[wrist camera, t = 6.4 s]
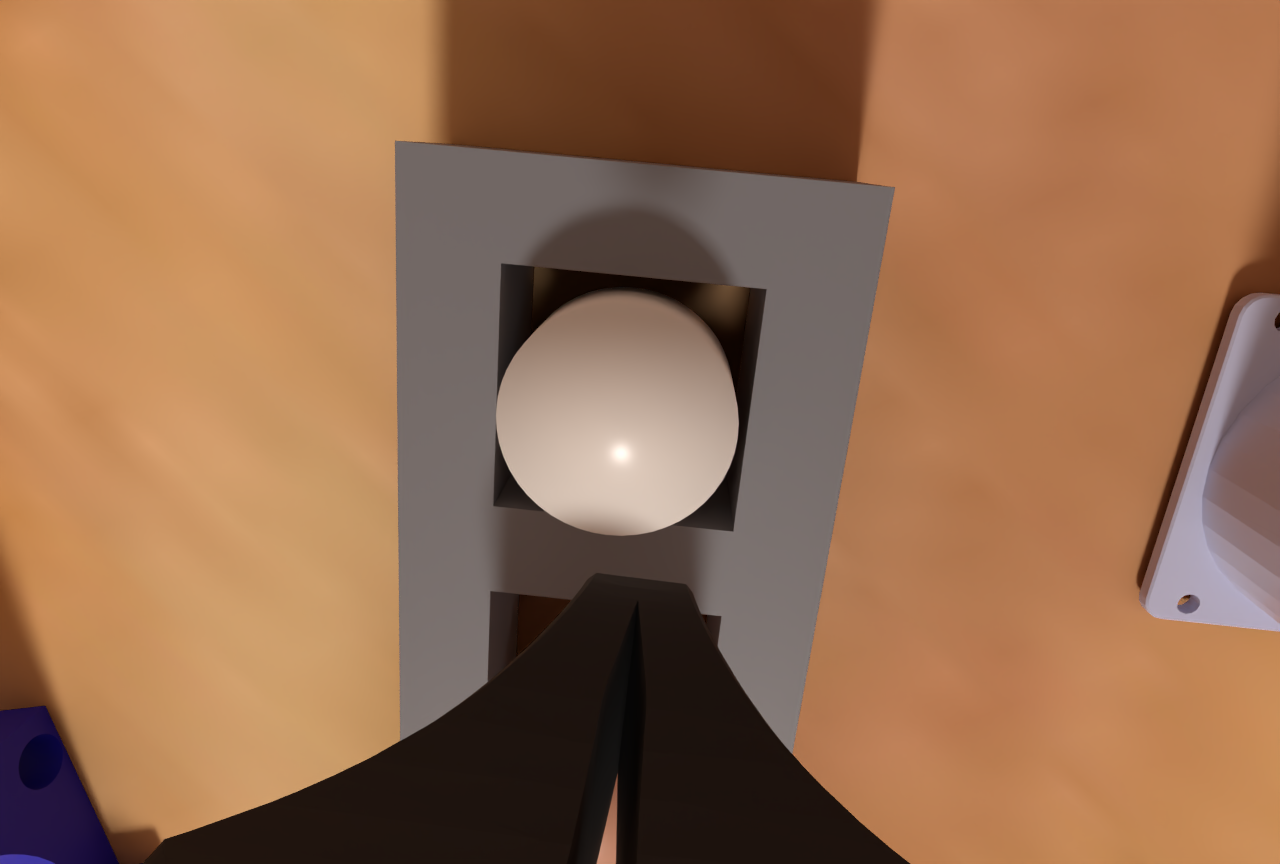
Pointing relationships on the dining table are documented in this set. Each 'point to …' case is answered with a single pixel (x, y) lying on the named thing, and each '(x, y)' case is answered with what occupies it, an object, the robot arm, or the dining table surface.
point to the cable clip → (44, 797)
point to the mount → (501, 323)
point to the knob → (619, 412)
